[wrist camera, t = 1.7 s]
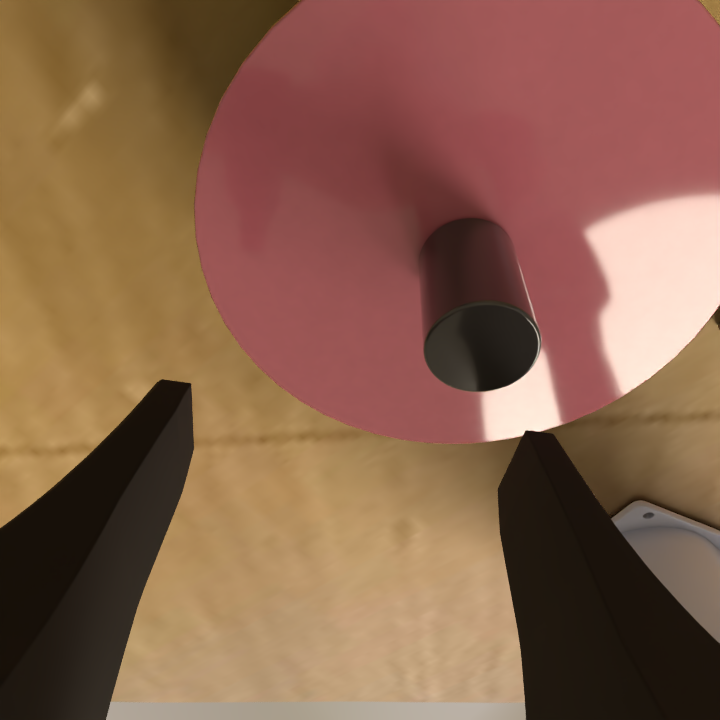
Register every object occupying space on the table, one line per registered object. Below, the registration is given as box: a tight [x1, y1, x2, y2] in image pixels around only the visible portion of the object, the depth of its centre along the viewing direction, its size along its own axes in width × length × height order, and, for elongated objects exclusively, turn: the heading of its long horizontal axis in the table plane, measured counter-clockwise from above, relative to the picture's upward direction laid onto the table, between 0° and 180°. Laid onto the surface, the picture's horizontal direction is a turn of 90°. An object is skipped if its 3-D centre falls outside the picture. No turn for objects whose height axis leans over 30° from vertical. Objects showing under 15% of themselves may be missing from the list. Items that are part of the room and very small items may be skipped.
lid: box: [194, 0, 720, 444], centre depth 14 cm, size 14×14×5 cm
